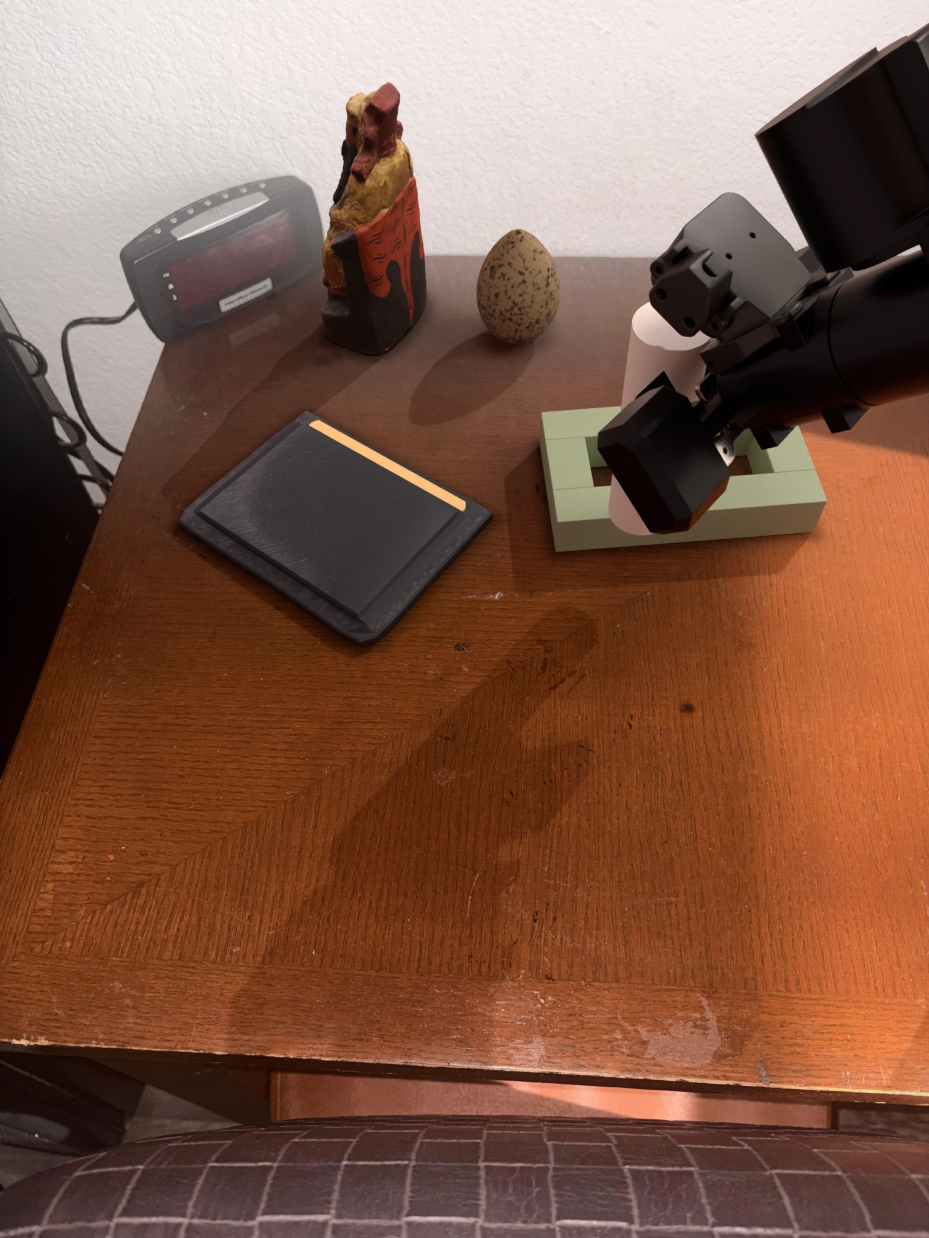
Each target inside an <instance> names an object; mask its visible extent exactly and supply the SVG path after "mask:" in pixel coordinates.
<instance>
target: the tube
mask: <svg viewBox="0 0 929 1238" xmlns="http://www.w3.org/2000/svg"><path fill="white" fill-rule="evenodd" d="M713 339H714V338H711V337H708V336H706V335H705V334H703V333H702V332H701V331H699V332H698V333H697V334H696V335H695V336H693V337H683V336H681V335H680V334H678V333H677V332H676V331H675V329H674V328H673V327H672V326H671V325H670V324H669V323H668V322H667V321H666V320H665V319H664V318H663V317H662V316H661V315H660V314H659V313H658V312H657V311H656V310H655V309H654V308H653V307H652V306H651V304H650V301H648V302H646V303H645V304H643V305H642V306H640V307H639V308H638V309H637V310H636V311H635V312H634V314H633V316H632V320H631V327H630V334H629V341H628V343H629V344H628V349H627V356H626V357H627V358H626V365H625V374H624V381H623V387H622V389H623V390H622V397H621V405H620V406H621V411H622V410H623V409H624V408H625V407H626V406H627V405H628V404H629V403H631V402H632V401H634V399H635V397H636V396H637V395H638V394H639V393H640V392H641V391H642V390H643V389H644V388H645V387H646V386H647V385H649V384H650V383H651V382H652V381H653V380H654V379H655V378H656V377H657V376H658V375H659V374H660V373H661V372H662V371H665V373H666V374H667V376H668V378H669V379H670V381H671V383H672V385H673V386H674V388H675V390H676V391H677V392H679V393H681V394H683V395H685V396H687V397H688V399H689V401H690V402H694V401H697V400H699V399H698V397H697V395H696V394H695V391H694V388H695V386H696V385H697V384H698V383H699V382H700V381H701V380H702V379H703V378H704V375H705V370H706V365H705V363H704V361H703V359H702V358H701V356H700V354H699V353H700V352H701V351H702V350H703V349H704V348H705V347H707V346H708V345H709V344H710V343H713ZM610 486H611V489H610V497H609V505H608V513H609V517H610V519H611V520H612V522H613V523H614V524H615V525H616V526H617V527H618V528H619V529H621V530H623V531H625V532H627V533H630V534H634V535H651V534H655V533H650V532H649V530H648V529H647V527H646V526H645V524H644V522H643V521H642V519H641V518H640V516H639V514H638V513H637V511H636V510H635V508H634V507H633V505H632V503H631V502H630V500H629V499H628V497H627V495H626V494H625V492H624V491H623V489H622V488H621V486H620V484H619V483H618V481H617V480H616V478H615V476H614V475H613V473H612V474H611V483H610Z"/></svg>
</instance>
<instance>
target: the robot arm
mask: <svg viewBox="0 0 929 1238" xmlns="http://www.w3.org/2000/svg"><path fill="white" fill-rule="evenodd" d="M753 137H754V138H755V140H756V142H757V145H758V147H759V148H760V150H761V152H762V155H763V157H764V159H765V161H766V162H767V165H768V166H769V167H768V168H769V169H770V171H771V173H772V175H773V177H774V179H775V181H776V183H777V185H778V187H779V190H780V192H781V193H782V195H783V197H784V199H785V201H786V203H787V206H788V207H789V209H790V211H791V213H792V215H793V217H794V219H795V221H796V223H797V225H798V227H799V230H800V231H801V234H802V235H803V238H804V240H805V242H806V243H807V245H806V246H804V247H802V248H799V249H797V250H795V248H794V246H793V245H792V244H791V243H790V241H788V240H787V239H786V238H785V236H783V234H781V233H780V232H779V231H778V229H777V228H775V227H774V226H773V225H772V223H771V222H770V221H769V220H767V219H766V217H764V216H763V214H762V213H760V212H759V210H757V209H756V207H754V205H752V203H751V202H750V201H749V200H748V199H747V198H746V197H744V196H742V195H741V194H738V193H737V192H733V191H731V192H730V191H728V192H724V193H722V194H720V195H719V196H718V197H716V198H715V199H714V200H713V201H711V202H710V203H709V204H708V205H707V206H706V207H704V208H703V209H702V210H701V211H700V212H699V213H697V214H696V215H695V216H694V217H692V218H691V219H690V220H689V221H687V222H686V223H685V224H684V225H683V227H682V229H681V230H680V231H679V232H678V234H677V235H676V237H675V238H674V240H673V241H672V242H671V244H670V245H669V246H668V248H667V249H666V250H665V251H664V252H662V253H661V254H660V255H659V256H657V258H656V259H654V260H653V261H652V262H651V263H650V265H649V272H650V282H651V285H652V287H651V288H650V290H649V292H648V300H649V302H650V304H651V306H652V307H653V308H654V309H655V310H656V311H657V312H658V313H659V314H660V315H661V316H662V317H663V318H664V319H665V320H666V321H667V322H668V323H669V324H670V325H671V326H672V327H673V328H674V329H675V331H676V332H677V333H678V334H680V335H681V336H683V337H693V336H695V335H696V334H697V333H698V332H699V331H701V332H702V333H703V334H705V335H706V336H708V337H711V338H713V339H715V341H712V343H710V344H709V345H708V346H707V347H705V348H704V349H703V350H702V351H701V352H700V353H699V354H700V356H701V358H702V359H703V361H704V363H705V365H706V370H705V375H704V378H703V379H702V380H701V381H700V382H699V383H698V384H697V385H696V386H695V388H694V391H695V394H696V395H697V397H698V399H699V400H697V401H694V402H690V401H689V399H688V397H687V396H685V395H683V394H681V393H679V392H677V391H676V390H675V388H674V386H673V385H672V383H671V381H670V379H669V378H668V376H667V374H666V373H665V371H662V372H661V373H660V374H659V375H658V376H657V377H656V378H655V379H654V380H653V381H652V382H651V383H650V384H649V385H647V386H646V387H645V388H644V389H643V390H642V391H641V392H640V393H639V394H638V395H637V396H636V397H635V399H634V401H632V402H631V403H629V404H628V405H627V406H626V407H625V408H624V409H623V410H622V411H621V412H620V413H619V414H617V415H616V416H615V417H614V418H613V419H612V420H611V421H610V422H609V423H608V424H607V425H606V426H605V427H604V428H602V429H601V430H600V431H599V432H598V441H597V450H598V451H599V453H600V454H601V456H602V458H603V459H604V461H605V462H606V464H607V465H608V466H607V467H608V469H609V470H610V472H611V473H612V474H613V475H614V476H615V478H616V480H617V481H618V483H619V484H620V486H621V488H622V489H623V491H624V492H625V494H626V495H627V497H628V499H629V500H630V502H631V503H632V505H633V507H634V508H635V510H636V511H637V513H638V514H639V516H640V518H641V519H642V521H643V522H644V524H645V526H646V527H647V529H648V530H649V532H650V533H655V534H660V535H664V534H671V533H678V532H686V531H689V530H690V529H691V528H692V526H693V525H694V524H695V523H696V522H697V521H698V520H699V519H700V518H701V517H702V516H703V515H704V514H705V512H706V511H707V510H708V509H709V508H710V507H711V506H712V505H713V504H714V503H715V502H716V501H717V500H718V498H719V497H720V496H721V495H722V494H723V493H724V492H725V491H726V489H727V485H728V482H729V478H730V476H731V474H732V471H731V470H730V468H729V466H730V465H732V463H733V461H734V460H735V458H736V456H735V446H734V443H735V441H736V440H737V439H738V437H739V436H740V435H741V434H742V433H743V432H744V431H745V430H746V429H750V430H751V432H752V434H753V436H754V437H755V439H756V441H757V443H758V445H759V446H760V448H761V450H765V449H769V448H774V447H778V446H779V445H780V444H781V442H782V441H783V440H784V439H785V438H786V437H787V436H788V435H789V434H790V433H791V432H792V430H793V429H794V428H795V427H796V426H799V427H800V426H804V425H808V424H811V423H817V422H819V421H820V422H821V421H824V422H825V424H826V426H827V428H828V430H829V431H830V433H831V435H834V434H838V433H843V432H847V431H851V430H852V429H853V428H854V427H855V426H856V425H857V424H858V422H859V421H860V420H861V419H862V417H864V415H866V413H867V412H868V411H869V410H870V409H871V408H874V407H878V406H883V405H886V404H891V403H894V402H895V403H896V402H898V401H902V400H907V399H911V398H914V397H918V396H922V395H927V394H929V22H928V23H926V24H925V25H923V26H921V27H920V28H918V29H917V30H916V31H914V32H912V33H911V34H909V35H904V36H902V37H900V38H898V39H896V40H895V41H893V42H891V43H889V44H888V45H886V46H885V47H883V48H881V49H880V50H878V47H877V46H874V47H873V48H871V49H869V50H867V52H865V53H864V54H862V55H860V56H859V57H858V58H856V59H855V60H853V61H852V62H850V63H849V64H847V65H846V66H844V67H843V68H841V69H840V70H838V71H837V72H835V73H834V74H833V75H831V76H830V77H827V79H825V80H823V82H821V83H820V84H818V85H817V86H815V87H814V88H813V89H811V90H810V91H807V93H806V94H804V95H803V96H801V97H800V98H799V99H798V100H796V101H795V102H793V103H792V104H790V105H789V106H788V107H786V108H784V109H783V110H782V111H781V112H779V114H777V115H775V117H773V118H772V119H770V120H769V121H768V122H766V123H765V124H764V125H763V126H762V127H760V128H759V130H757V131H756V132H755V133H754V134H753ZM918 246H919V248H920V249H919V250H916V251H913V252H911V253H909V254H906V255H903V256H901V257H899V258H896V256H899V255H901V254H903V253H905V252H907V251H909V250H910V249H913V248H915V247H918ZM893 258H896V259H894V260H892V261H889V260H891V259H893ZM887 261H889V262H887ZM884 262H886V263H884ZM882 263H884V264H882ZM880 264H881V265H880ZM878 265H879V266H878ZM875 266H877V267H875ZM873 267H875V268H873ZM870 268H872V269H870ZM867 269H869V270H868V271H865V270H867ZM859 271H865V272H862V273H860V274H857V275H854V273H853V272H859ZM719 432H720V435H717V434H718V433H719ZM716 435H717V436H716Z"/></svg>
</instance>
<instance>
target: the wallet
mask: <svg viewBox="0 0 929 1238" xmlns="http://www.w3.org/2000/svg"><path fill="white" fill-rule="evenodd" d="M492 519H494V513H493V512H492V511H491V510H489V509H488V508H485V507H484V506H483V505H481V504H479V503H477V502H476V501H475V500H473V499H471V498H469V497H467V496H465V495H463V494H461V493H459V492H457V491H456V490H453V489H451V488H449V487H447V486H445V485H443V484H442V483H439V482H438V481H436V480H434V479H432V478H431V477H429V476H427V475H425V474H423V473H421V471H418V470H416V469H414V468H412V467H411V466H409V465H407V464H405V463H404V462H401V461H399V460H398V459H396V458H395V457H392V456H391V455H389V454H387V453H385V452H384V451H382V450H380V449H378V448H376V447H374V446H372V445H371V444H368V443H367V442H365V441H364V440H362V439H359V438H358V437H356V436H354V435H352V434H351V433H348V432H347V431H345V430H344V429H342V428H340V427H338V426H337V425H334V424H333V423H331V422H329V421H327V420H325V419H324V418H322V417H320V416H318V415H316V414H314V413H313V412H311V411H309V410H307V409H305V410H303V411H302V412H301V413H300V414H299V415H297V417H295V418H294V419H293V420H292V421H290V422H289V423H288V424H286V425H285V426H283V427H282V428H280V429H279V430H278V431H277V432H276V433H274V434H273V435H272V436H270V437H269V438H268V439H267V440H266V441H265V442H263V443H261V445H260V446H258V447H257V448H256V449H255V450H253V451H252V452H251V453H250V454H249V455H247V456H246V457H245V458H243V460H241V461H240V462H239V463H238V464H236V465H235V466H234V467H232V469H230V470H229V471H228V472H226V474H224V475H223V476H222V477H221V478H220V479H218V480H217V481H216V482H215V483H213V484H211V486H210V487H208V488H207V489H206V490H205V491H204V492H202V493H201V494H200V495H199V496H198V497H197V498H195V499H194V500H193V501H192V502H191V503H190V504H189V505H188V506H186V507H185V508H184V509H183V511H182V512H181V515H180V516H179V519H178V520H177V522H178V524H179V525H180V527H181V528H183V530H185V531H187V532H188V533H190V535H192V536H193V537H195V538H196V539H198V540H199V541H200V542H202V543H204V544H205V545H207V546H208V547H210V548H211V549H212V550H214V551H216V552H217V553H218V554H221V556H223V557H225V558H226V559H228V560H230V561H231V562H233V563H234V564H236V565H237V566H239V568H242V569H243V570H245V571H247V572H248V573H250V574H251V575H253V576H254V577H256V578H257V579H259V580H260V581H262V582H263V583H265V584H267V585H268V586H269V587H271V588H272V589H274V590H275V591H277V592H278V593H280V594H281V595H283V596H284V597H285V598H287V599H288V600H290V602H293V603H294V604H295V605H297V606H298V607H300V608H301V609H303V610H304V611H305V612H307V613H308V614H310V615H311V616H313V617H314V618H315V619H317V620H318V621H320V622H321V623H323V624H324V625H325V626H327V627H328V628H329V629H331V630H332V631H334V632H335V633H336V634H338V635H339V636H340V637H342V638H344V639H346V640H348V641H350V642H351V643H353V644H356V645H357V646H359V647H361V648H362V647H366V646H367V645H370V644H374V643H377V642H379V641H380V640H381V639H382V638H383V637H384V636H385V635H386V634H388V632H389V631H390V630H391V629H392V628H393V627H394V626H395V625H396V624H397V623H398V622H399V621H400V620H401V618H402V617H403V616H404V615H405V614H406V613H407V612H408V611H409V610H410V608H411V607H412V606H414V604H415V603H416V602H417V601H418V600H419V598H421V596H422V595H423V594H424V593H425V592H426V591H427V590H428V588H430V586H431V585H432V584H433V583H434V582H435V581H436V580H437V579H438V578H439V576H440V575H441V574H442V573H443V572H444V571H446V569H448V567H449V566H450V565H451V564H452V563H453V562H454V561H455V560H456V558H458V556H460V554H462V552H463V551H464V550H465V549H466V548H467V547H468V546H469V545H470V544H471V543H472V541H473V540H474V539H475V538H476V537H477V536H478V534H479V533H480V532H482V530H484V528H485V527H486V526H487V525H488V524H489V523H490V522H491V520H492Z"/></svg>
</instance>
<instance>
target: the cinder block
mask: <svg viewBox="0 0 929 1238" xmlns="http://www.w3.org/2000/svg"><path fill="white" fill-rule="evenodd" d="M620 412H621V405H616V406H602V407H592V408H591V407H590V408H579V409H578V408H577V409H565V410H564V409H563V410H553V411H542V412H541V413H540V424H539V425H540V427H539V449H540V454H541V455H540V456H541V462H542V468H543V469H542V470H543V476H544V483H545V489H546V497H547V503H548V508H549V517H550V523H551V530H552V538H553V544H554V552H556V553H559V552H572V551H584V550H598V549H611V548H612V549H613V548H624V547H625V548H626V547H636V546H637V547H638V546H651V545H662V544H663V545H664V544H677V543H688V542H701V541H713V540H714V541H715V540H716V541H717V540H726V539H727V540H728V539H740V538H741V539H742V538H752V537H768V536H779V535H793V534H805V533H806V534H807V533H813V532H814V530H815V529H816V526H817V524H818V522H819V520H820V518H821V516H822V513H823V511H824V509H825V507H826V505H827V503H828V499H827V496H826V493H825V491H824V488H823V486H822V483H821V481H820V478H819V475H818V473H817V472H818V471H817V470H816V468H815V465H814V463H813V460H812V458H811V454H810V452H809V449H808V447H807V444H806V442H805V439H804V436H803V434H802V432H801V429H800V426H796V427H795V428H794V429H793V430H792V432H791V433H790V434H789V435H788V436H787V437H786V438H785V439H784V440H783V441H782V442H781V444H780V445H779V446H778V447H774V448H769V449H765V450H761V448H760V446H759V445H758V443H757V441H756V439H755V437H754V436H753V434H752V432H751V430H750V429H746V430H745V431H744V432H743V433H742V434H741V435H740V436H739V437H738V439H737V440H736V441H735V443H734V446H735V457H742V456H743V457H744V456H746V458H747V461H748V464H749V467H750V470H751V473H752V474H745V475H732V476H731V475H730V478H729V482H728V485H727V489H726V491H725V492H724V493H723V494H722V495H721V496H720V497H719V498H718V500H717V501H716V502H715V503H714V504H713V505H712V506H711V507H710V508H709V509H708V510H707V511H706V512H705V514H704V515H703V516H702V517H701V518H700V519H699V520H698V521H697V522H696V523H695V524H694V525H693V526H692V528H691V529H690V530H689V531H686V532H678V533H671V534H664V535H660V534H651V535H634V534H630V533H627V532H625V531H623V530H621V529H619V528H618V527H617V526H616V525H615V524H614V523H613V522H612V520H611V519H610V517H609V513H608V505H609V497H610V489H611V485H605V486H604V485H603V486H594V480H593V474H592V469H591V468H601V467H608V465H607V464H606V462H605V461H604V459H603V458H602V456H601V454H600V453H599V451H598V450H597V441H598V432H599V431H600V430H601V429H602V428H604V427H605V426H606V425H607V424H608V423H609V422H610V421H611V420H612V419H613V418H614V417H615V416H616V415H617V414H619V413H620ZM717 435H720V432H719V433H718V434H717ZM717 435H716V436H717Z"/></svg>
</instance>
